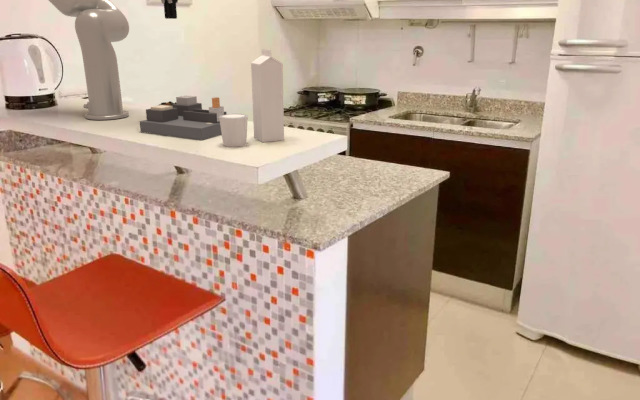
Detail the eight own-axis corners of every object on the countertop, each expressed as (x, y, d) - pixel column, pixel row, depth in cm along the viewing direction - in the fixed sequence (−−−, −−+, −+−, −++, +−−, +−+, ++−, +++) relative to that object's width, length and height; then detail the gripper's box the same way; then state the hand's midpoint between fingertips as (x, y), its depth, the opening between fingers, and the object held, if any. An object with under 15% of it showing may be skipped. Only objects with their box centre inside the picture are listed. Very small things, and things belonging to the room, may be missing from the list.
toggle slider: (209, 120, 142) (208, 98, 140) (216, 119, 144) (215, 96, 142) (217, 121, 140) (215, 98, 139) (224, 120, 143) (223, 97, 141)
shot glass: (251, 141, 133) (250, 113, 131) (245, 147, 127) (244, 118, 125) (224, 140, 134) (223, 113, 132) (217, 147, 127) (215, 117, 125)
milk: (275, 136, 140) (273, 48, 133) (284, 140, 135) (283, 49, 128) (253, 138, 137) (250, 49, 130) (261, 142, 132) (259, 50, 125)
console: (140, 132, 144) (138, 110, 142) (188, 121, 160) (186, 100, 158) (201, 140, 134) (199, 116, 132) (245, 127, 150) (244, 106, 148)
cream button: (151, 119, 144) (150, 106, 143) (162, 117, 147) (161, 104, 146) (162, 121, 142) (161, 108, 141) (173, 118, 145) (172, 106, 144)
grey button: (177, 109, 152) (176, 97, 151) (186, 107, 155) (185, 95, 154) (187, 110, 150) (187, 98, 149) (197, 108, 153) (196, 96, 152)
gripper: (134, -53, 145) (141, 18, 151) (176, -56, 139) (182, 18, 145) (154, -50, 152) (160, 18, 158) (195, -53, 145) (200, 18, 151)
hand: (171, 18), depth 151 cm, fingers closed
